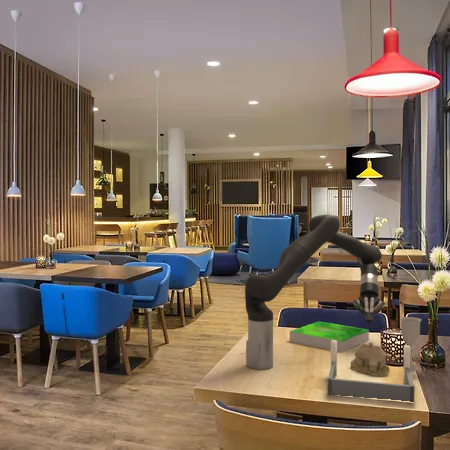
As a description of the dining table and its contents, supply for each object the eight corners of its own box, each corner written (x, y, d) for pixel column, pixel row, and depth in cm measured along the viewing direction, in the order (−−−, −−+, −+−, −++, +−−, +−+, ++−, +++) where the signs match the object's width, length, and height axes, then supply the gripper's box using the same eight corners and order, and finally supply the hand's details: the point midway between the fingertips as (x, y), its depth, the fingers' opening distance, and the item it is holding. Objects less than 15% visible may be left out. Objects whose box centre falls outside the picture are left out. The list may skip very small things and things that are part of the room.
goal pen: (415, 403, 147) (416, 363, 146) (326, 395, 154) (326, 356, 153) (409, 381, 166) (410, 345, 166) (331, 374, 173) (331, 340, 173)
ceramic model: (395, 370, 178) (395, 342, 177) (384, 378, 169) (384, 349, 169) (357, 363, 186) (357, 336, 186) (345, 370, 177) (345, 343, 177)
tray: (289, 342, 216) (289, 331, 216) (318, 331, 235) (318, 321, 235) (342, 353, 200) (342, 341, 200) (368, 340, 219) (368, 329, 219)
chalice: (421, 367, 181) (422, 318, 180) (420, 372, 174) (421, 322, 174) (400, 364, 184) (400, 316, 183) (398, 370, 177) (399, 320, 177)
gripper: (352, 280, 208) (351, 315, 197) (385, 282, 205) (386, 317, 193) (353, 291, 214) (352, 326, 202) (385, 292, 210) (386, 328, 199)
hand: (369, 321), depth 198 cm, fingers closed
